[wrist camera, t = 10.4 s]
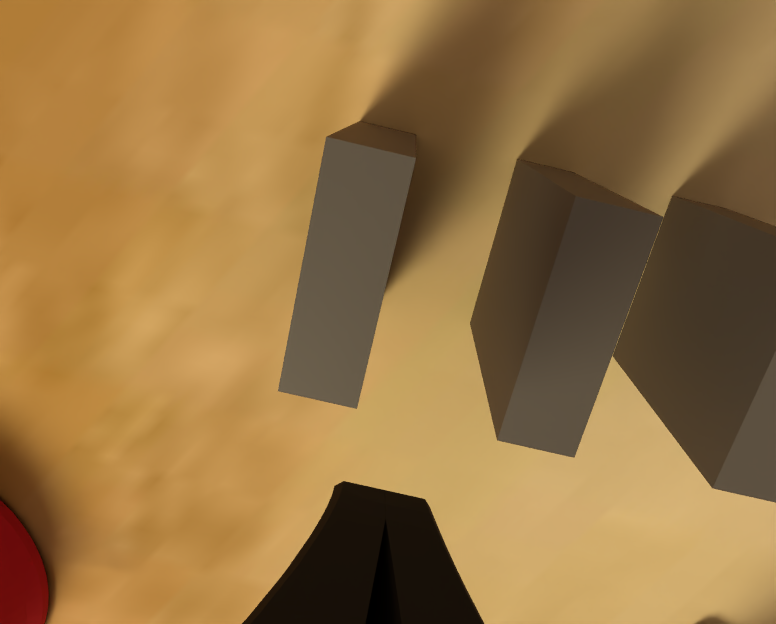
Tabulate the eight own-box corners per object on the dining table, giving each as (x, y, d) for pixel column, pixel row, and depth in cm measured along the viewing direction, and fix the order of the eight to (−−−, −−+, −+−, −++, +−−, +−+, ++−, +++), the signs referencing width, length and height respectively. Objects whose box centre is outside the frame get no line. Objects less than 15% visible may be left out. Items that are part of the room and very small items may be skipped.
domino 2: (572, 172, 18) (663, 217, 11) (521, 334, 20) (574, 457, 13) (517, 158, 18) (576, 196, 11) (470, 323, 20) (497, 440, 13)
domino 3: (726, 208, 18) (905, 273, 11) (662, 367, 20) (787, 505, 13) (671, 195, 18) (819, 254, 11) (612, 355, 20) (712, 488, 13)
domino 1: (416, 134, 18) (416, 158, 11) (376, 301, 19) (356, 408, 13) (359, 121, 18) (326, 136, 11) (325, 290, 19) (278, 391, 13)
